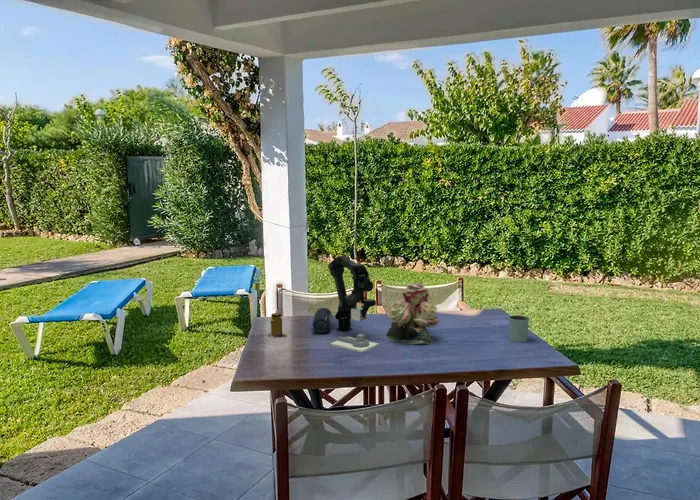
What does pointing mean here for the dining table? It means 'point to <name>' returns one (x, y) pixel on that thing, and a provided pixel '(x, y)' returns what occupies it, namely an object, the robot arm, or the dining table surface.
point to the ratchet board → (349, 346)
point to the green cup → (518, 328)
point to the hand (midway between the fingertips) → (359, 316)
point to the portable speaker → (322, 320)
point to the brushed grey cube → (357, 314)
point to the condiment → (276, 326)
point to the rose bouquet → (412, 316)
